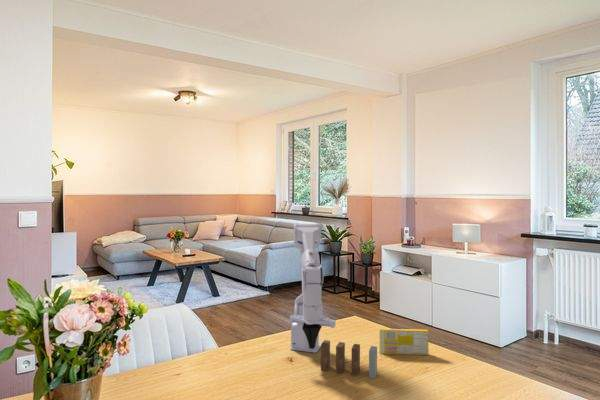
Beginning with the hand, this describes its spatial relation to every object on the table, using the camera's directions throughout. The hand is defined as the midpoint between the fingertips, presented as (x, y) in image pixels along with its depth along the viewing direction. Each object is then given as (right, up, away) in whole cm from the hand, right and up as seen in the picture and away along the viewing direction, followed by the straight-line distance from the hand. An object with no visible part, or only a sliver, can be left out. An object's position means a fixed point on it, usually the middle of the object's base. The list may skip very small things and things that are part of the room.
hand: (312, 347), depth 130 cm
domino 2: (+9, -6, -3) cm, 11 cm away
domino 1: (+4, -6, -1) cm, 7 cm away
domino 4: (+18, -6, -6) cm, 20 cm away
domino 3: (+13, -6, -4) cm, 15 cm away
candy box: (+31, -6, +11) cm, 34 cm away
